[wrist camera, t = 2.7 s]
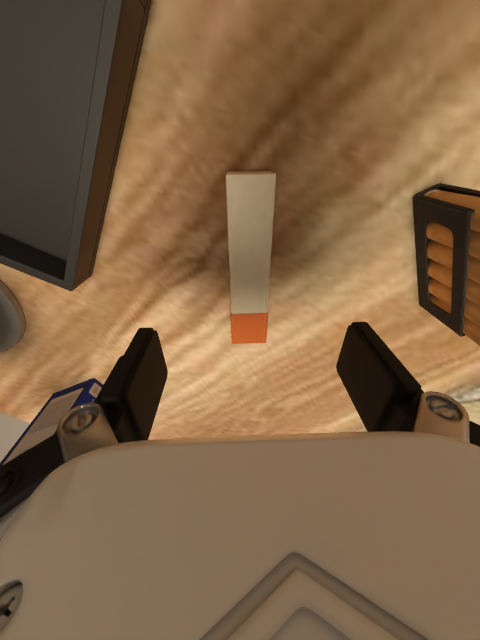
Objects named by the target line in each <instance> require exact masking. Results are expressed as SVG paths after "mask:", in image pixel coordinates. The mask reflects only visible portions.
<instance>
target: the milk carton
mask: <svg viewBox="0 0 480 640" xmlns="http://www.w3.org/2000/svg"><path fill="white" fill-rule="evenodd" d="M102 387H103V386H102V385H101V384H100V383H99V382H97V381H96V380H95V379H94V378H93V379H91V380H88V381H85V382H83V383H80V384H78V385H75V386H72V387H70V388H67V389H65V390H62V391H60V392H57V393H54V394H53V395H52V396H51V398H50V399H49V400H48V401H47V403H46V404H45V405H44V407H43V408H42V409H41V411H40V412H39V413H38V415H37V416H36V417H35V418H34V420H33V421H32V422H31V424H30V425H29V426H28V428H27V429H26V430H25V431H24V433H23V434H22V436H21V437H20V438H19V439H18V441H17V442H16V443H15V445H14V446H13V447H12V448H11V450H10V451H9V452H8V454H7V455H6V456H5V458H4V459H3V460H2V461H1V463H0V467H1V466H2V465H4V464H6V463H7V462H9V461H11V460H12V459H14V458H15V457H17V456H19V455H20V454H22V453H24V452H25V451H27V450H29V449H30V448H32V447H34V446H35V445H37V444H39V443H40V442H42V441H44V440H45V439H47V438H48V437H50V436H52V435H53V434H55V433H57V426H58V423H59V421H60V420H61V418H62V417H63V416H64V415H65V414H66V413H67V412H68V411H69V410H71V409H73V408H74V407H76V406H78V405H81V404H84V403H89V402H91V403H94V401H95V399H96V397H97V396H98V394H99V392H100V390H101V389H102Z"/></svg>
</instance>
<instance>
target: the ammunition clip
mask: <svg viewBox="0 0 480 640" xmlns="http://www.w3.org/2000/svg"><path fill="white" fill-rule="evenodd" d="M413 209H414V226H415V242H416V258H417V274H418V290H419V305H420V306H421V307H423V308H424V309H425V310H427V311H428V312H429V313H430V314H432V315H433V316H434V317H436V318H437V319H438V320H440V321H441V322H442V323H444V324H445V325H446V326H448V327H449V328H450V329H451V330H453V331H454V332H455V333H457V334H458V335H459V336H461V337H462V336H465V335H466V336H468V337H469V338H470V339H472V340H473V341H474V342H476V343H477V344H478V345H479V346H480V191H477V190H472V189H467V188H462V187H457V186H452V185H447V184H442V183H440V184H438V185H436V186H434V187H431V188H429V189H427V190H425V191H423V192H421V193H419V194H416V195H415V196H414V198H413Z"/></svg>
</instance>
